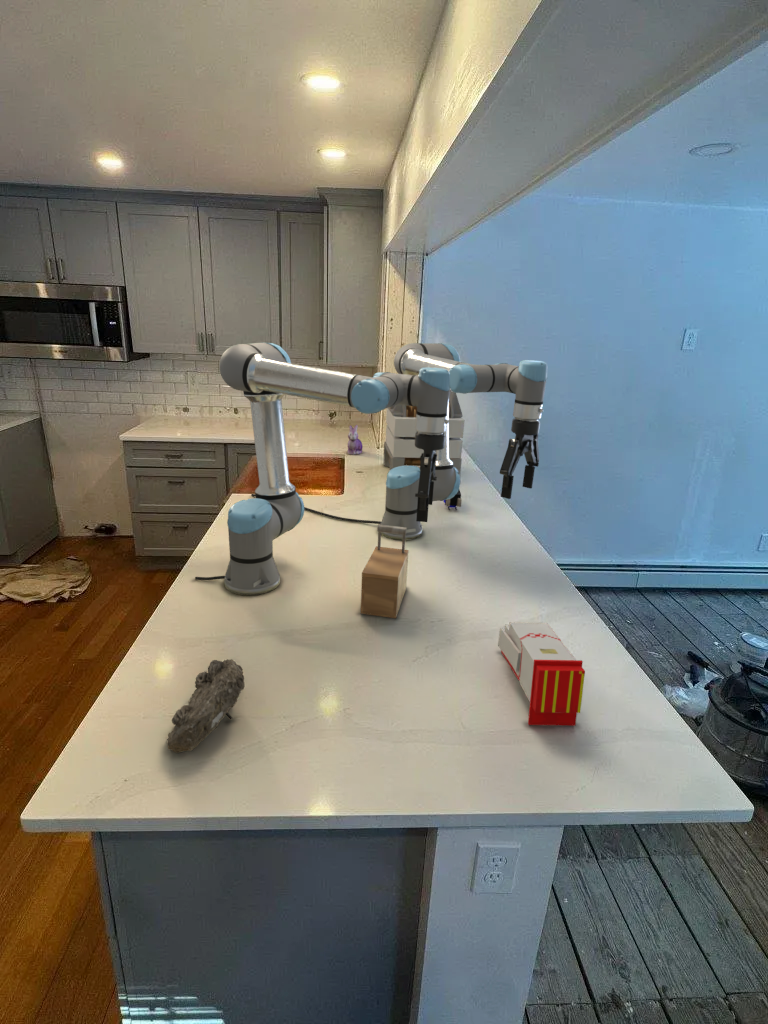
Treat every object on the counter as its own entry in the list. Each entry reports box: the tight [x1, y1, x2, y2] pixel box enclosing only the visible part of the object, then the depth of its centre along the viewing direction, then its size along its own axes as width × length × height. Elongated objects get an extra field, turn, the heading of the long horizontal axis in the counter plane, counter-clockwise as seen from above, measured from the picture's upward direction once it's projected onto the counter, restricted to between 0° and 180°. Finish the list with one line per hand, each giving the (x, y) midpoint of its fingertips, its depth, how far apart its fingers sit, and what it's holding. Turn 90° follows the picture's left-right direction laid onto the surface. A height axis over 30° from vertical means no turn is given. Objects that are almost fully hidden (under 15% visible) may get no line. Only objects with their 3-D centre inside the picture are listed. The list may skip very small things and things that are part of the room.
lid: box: [361, 524, 410, 581], centre depth 149 cm, size 18×9×8 cm, turn 169°
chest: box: [360, 555, 409, 619], centre depth 152 cm, size 17×9×11 cm, turn 169°
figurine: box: [346, 424, 364, 455], centre depth 305 cm, size 9×10×15 cm
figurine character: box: [442, 489, 463, 511], centre depth 229 cm, size 7×8×15 cm
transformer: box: [383, 389, 465, 476], centre depth 268 cm, size 34×33×41 cm
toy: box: [497, 621, 586, 727], centre depth 121 cm, size 12×13×30 cm
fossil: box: [166, 658, 245, 754], centre depth 106 cm, size 22×10×15 cm
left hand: (424, 512), depth 148 cm, fingers open, 13 cm apart
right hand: (516, 492), depth 163 cm, fingers open, 13 cm apart
